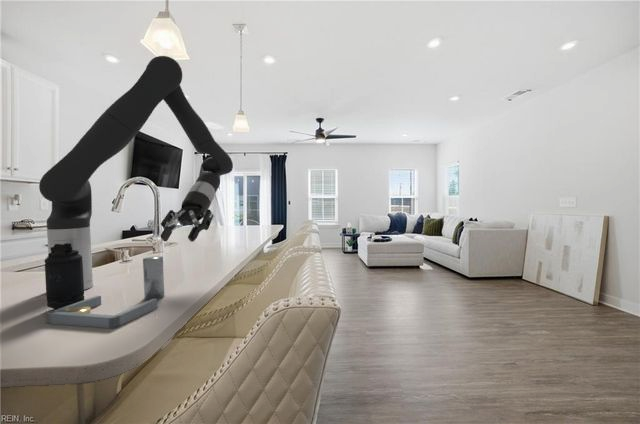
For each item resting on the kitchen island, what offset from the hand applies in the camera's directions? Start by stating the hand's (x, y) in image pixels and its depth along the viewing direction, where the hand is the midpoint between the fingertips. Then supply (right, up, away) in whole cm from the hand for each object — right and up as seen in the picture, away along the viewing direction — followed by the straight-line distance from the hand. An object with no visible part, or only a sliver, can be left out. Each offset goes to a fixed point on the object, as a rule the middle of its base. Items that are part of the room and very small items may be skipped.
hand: (176, 239), depth 84 cm
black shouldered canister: (-18, -15, -15) cm, 28 cm away
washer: (-11, -15, -21) cm, 28 cm away
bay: (-6, -14, -19) cm, 25 cm away
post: (-2, -14, -9) cm, 16 cm away
